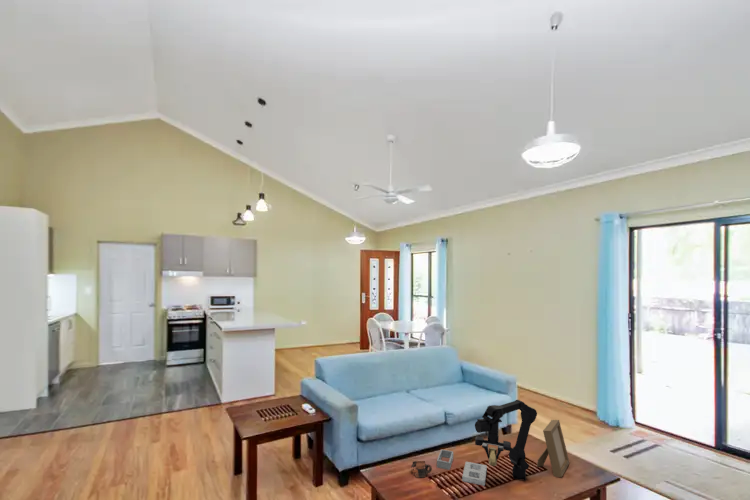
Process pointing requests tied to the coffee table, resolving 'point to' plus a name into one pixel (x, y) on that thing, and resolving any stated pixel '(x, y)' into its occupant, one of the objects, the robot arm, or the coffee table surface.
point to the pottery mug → (421, 468)
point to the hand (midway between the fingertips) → (492, 459)
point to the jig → (474, 473)
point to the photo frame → (554, 449)
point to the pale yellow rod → (492, 456)
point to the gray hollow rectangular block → (443, 463)
